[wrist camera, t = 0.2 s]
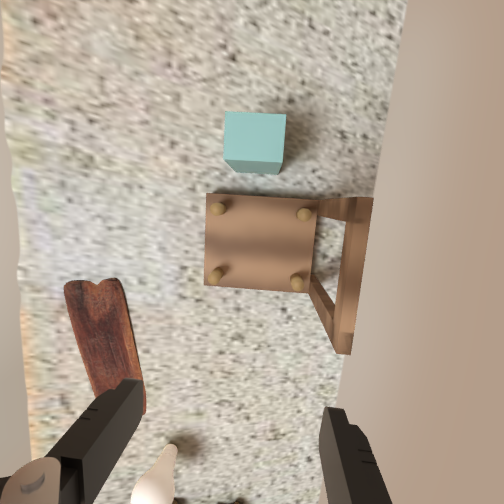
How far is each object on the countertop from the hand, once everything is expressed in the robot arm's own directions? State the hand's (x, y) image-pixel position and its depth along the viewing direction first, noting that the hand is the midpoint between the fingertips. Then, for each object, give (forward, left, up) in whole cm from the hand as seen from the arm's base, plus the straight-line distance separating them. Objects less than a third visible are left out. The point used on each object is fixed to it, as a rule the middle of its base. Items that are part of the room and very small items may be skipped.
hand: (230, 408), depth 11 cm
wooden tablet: (+18, -24, -29) cm, 42 cm away
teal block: (-15, -1, -29) cm, 32 cm away
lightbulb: (+35, -13, -29) cm, 47 cm away
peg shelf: (-3, 0, -29) cm, 29 cm away
